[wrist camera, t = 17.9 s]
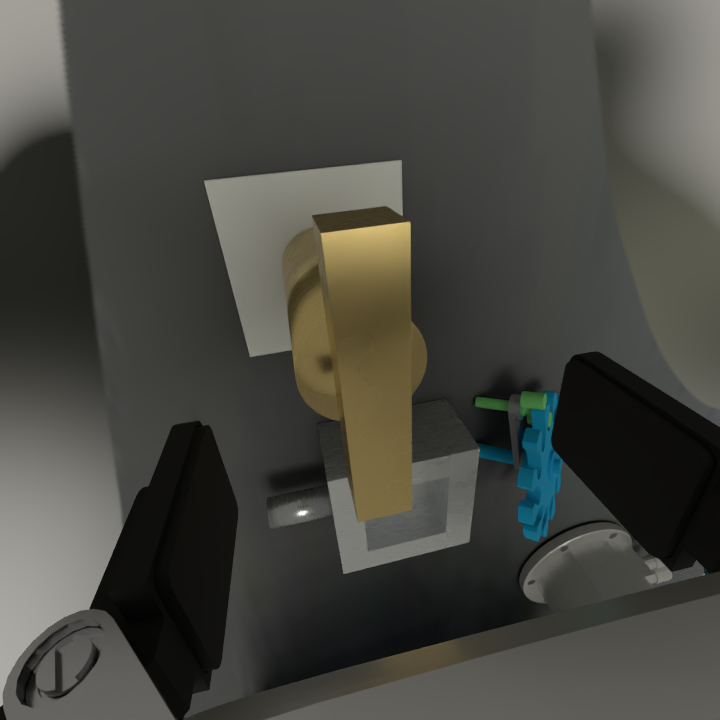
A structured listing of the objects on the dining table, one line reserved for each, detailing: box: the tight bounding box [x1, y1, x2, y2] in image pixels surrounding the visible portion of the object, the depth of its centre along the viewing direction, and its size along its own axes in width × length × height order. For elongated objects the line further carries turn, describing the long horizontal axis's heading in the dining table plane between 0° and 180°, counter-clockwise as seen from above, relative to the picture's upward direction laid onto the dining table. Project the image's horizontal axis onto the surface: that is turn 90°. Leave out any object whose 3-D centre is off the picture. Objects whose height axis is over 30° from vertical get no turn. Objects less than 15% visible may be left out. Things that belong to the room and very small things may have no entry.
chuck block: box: [267, 399, 480, 574], centre depth 26 cm, size 13×9×5 cm
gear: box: [475, 391, 563, 542], centre depth 27 cm, size 11×6×10 cm
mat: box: [204, 160, 403, 357], centre depth 20 cm, size 9×9×1 cm
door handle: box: [282, 206, 427, 523], centre depth 15 cm, size 4×9×12 cm, turn 4°
